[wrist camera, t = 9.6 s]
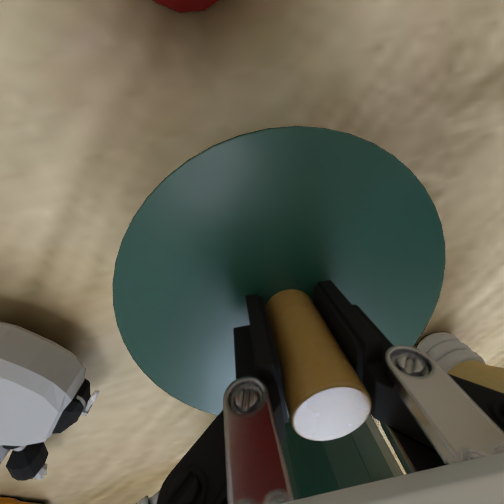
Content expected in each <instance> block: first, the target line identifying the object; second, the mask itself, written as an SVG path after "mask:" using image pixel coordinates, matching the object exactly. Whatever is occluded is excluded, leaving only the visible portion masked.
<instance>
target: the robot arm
mask: <svg viewBox="0 0 504 504" xmlns="http://www.w3.org/2000/svg"><path fill="white" fill-rule="evenodd" d="M245 297H246V304H247V310H248V316H249V323H250V325H246V326H241V327H236V328H233V334H234V352H235V370H236V380H234V381H233V382H232V383H230V385H229V386H228V387H227V388H226V391H225V393H224V396H223V410H222V412H221V413H220V414H219V415H218V416H217V418H216V419H215V420H214V421H213V422H212V423H211V425H210V426H209V427H208V428H207V429H206V431H205V432H204V433H203V434H202V435H201V437H200V438H199V439H198V440H197V441H196V443H195V444H194V445H193V446H192V447H191V449H190V450H189V451H188V452H187V453H186V455H185V456H184V457H183V458H182V459H181V461H180V462H179V463H178V464H177V465H176V467H175V468H174V469H173V470H172V471H171V473H170V474H169V475H168V477H167V478H166V480H165V481H164V483H163V485H162V487H161V489H160V491H159V492H157V493H156V494H155V495H153V496H152V497H151V498H149V497H148V496H145V497H144V498H143V499H141V500H140V501H139V502H137V503H136V504H504V393H501V392H499V391H496V390H493V389H490V388H487V387H485V386H482V385H479V384H476V383H473V382H470V381H468V380H465V379H462V378H459V377H456V376H453V375H451V374H448V373H446V372H445V371H444V370H443V369H442V368H441V366H440V365H439V364H438V363H437V362H436V361H435V360H434V359H433V358H432V357H431V356H429V355H428V354H427V353H426V352H424V351H422V350H420V349H418V348H415V347H413V346H408V345H395V346H393V344H392V343H391V342H390V341H389V340H388V339H387V338H386V337H385V335H384V334H383V333H382V332H381V331H380V330H379V329H378V328H377V326H376V325H375V324H374V323H373V322H372V321H371V320H370V319H369V317H368V316H367V315H366V314H365V313H364V312H363V311H362V310H361V308H360V307H359V306H357V305H355V304H353V305H352V304H351V303H350V302H349V301H348V300H347V298H346V297H345V296H344V295H343V294H342V292H341V291H340V290H339V289H338V288H337V287H336V285H335V284H334V283H333V282H332V281H331V280H326V281H321V282H318V283H317V285H316V286H314V299H315V306H316V308H317V309H318V311H319V312H320V314H321V316H322V317H323V319H324V321H325V322H326V324H327V326H328V327H329V329H330V331H331V332H332V334H333V335H334V337H335V339H336V340H337V342H338V344H339V345H340V347H341V349H342V350H343V352H344V353H345V355H346V357H347V358H348V360H349V362H350V363H351V365H352V367H353V368H354V370H355V372H356V373H357V375H358V376H359V378H360V380H361V381H362V383H363V385H364V386H365V388H366V390H367V391H368V393H369V395H370V398H371V403H372V406H371V411H370V414H369V415H372V416H373V418H375V419H377V420H379V421H380V423H381V426H382V428H383V430H384V432H385V434H386V436H387V438H388V440H389V441H390V443H391V445H392V447H393V449H394V451H395V453H396V455H397V456H398V458H399V460H400V462H401V464H402V466H403V468H404V470H405V471H406V473H407V474H405V475H401V476H396V477H392V478H388V479H383V480H379V481H375V482H370V483H366V484H362V485H357V486H353V487H349V488H344V489H340V490H336V491H332V492H327V493H323V494H319V495H315V496H311V497H306V498H302V499H298V500H294V496H293V492H292V488H291V484H290V480H289V476H288V471H287V467H286V463H285V459H284V455H283V451H282V447H281V445H282V443H283V442H284V440H285V438H286V431H285V425H284V423H286V422H288V414H287V407H286V402H285V398H284V386H283V379H282V372H281V365H280V360H279V356H278V352H277V349H276V345H275V341H274V338H273V334H272V330H271V327H270V323H269V319H268V316H267V312H266V308H265V305H264V301H263V297H262V296H257V294H252V295H247V296H245Z"/></svg>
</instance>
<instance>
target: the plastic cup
mask: <svg viewBox="0 0 504 504" xmlns="http://www.w3.org/2000/svg"><path fill="white" fill-rule="evenodd" d="M153 1H155V2H156V3H158V4H161V5H163V6H166V7H168V8H170V9H173V10H175V11H178V12H180V13H182V12H194V11H204V10H206V9H207V8H209V7H210V6H212V5H213V4H215V3H216V2H218V1H219V0H153Z"/></svg>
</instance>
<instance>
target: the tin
mask: <svg viewBox="0 0 504 504" xmlns="http://www.w3.org/2000/svg"><path fill="white" fill-rule="evenodd" d="M284 425H285V431H286V438H285V440H284V442H283V443H282V445H281V447H282V451H283V455H284V459H285V463H286V467H287V471H288V476H289V480H290V484H291V488H292V492H293V496H294V500H298V499H302V498H306V497H311V496H315V495H319V494H323V493H327V492H332V491H336V490H340V489H344V488H349V487H353V486H357V485H362V484H366V483H370V482H375V481H379V480H383V479H388V478H392V477H396V476H401V475H404V474H403V473H402V471H401V469H400V467H399V465H398V464H397V462H396V460H395V458H394V456H393V455H392V453H391V451H390V449H389V447H388V445H387V444H386V442H385V440H384V438H383V436H382V435H381V433H380V431H379V429H378V427H377V425H376V424H375V422H374V420H373V418H372V416H371V415H369V416H368V417H367V419H366V420H365V422H364V423H363V424H362V425H361V426H360V427H358V428H357V429H356V430H354V431H353V432H351V433H349V434H347V435H345V436H343V437H340V438H337V439H333V440H328V441H313V440H309V439H305V438H303V437H301V436H300V435H298V434H297V433H296V432H295V430H294V429H293V427H292V425H291V422H290V418H288V422H286V423H284Z"/></svg>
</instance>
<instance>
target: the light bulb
mask: <svg viewBox="0 0 504 504" xmlns="http://www.w3.org/2000/svg"><path fill="white" fill-rule="evenodd" d="M417 348H418V349H420V350H422V351H424V352H426V353H427V354H428V355H429V356H431V357H432V358H433V359H434V360H435V361H436V362H437V363H438V364H439V365H440V366H441V368H442V369H443V370H444V371H445V372H446V373H448V374H451V375H453V376H456V377H459V378H462V379H465V380H468V381H470V382H473V383H476V384H479V385H482V386H485V387H487V388H490V389H493V390H496V391H499V392H501V393H504V368H500V367H494V366H489V365H486V364H485V362H484V360H483V359H482V357H480V356H479V355H478V354H477V353H475V352H473V351H472V350H471V349H470V348H469V347H468V346H467V345H465V344H464V343H462V342H461V341H460V340H459V339H458V338H457V337H455V336H454V335H452V334H450V333H446V332H441V333H433V334H431V335H428V336H426V337H425V338H424V339H422V340H421V341H420V342H419V344H418V346H417Z"/></svg>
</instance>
